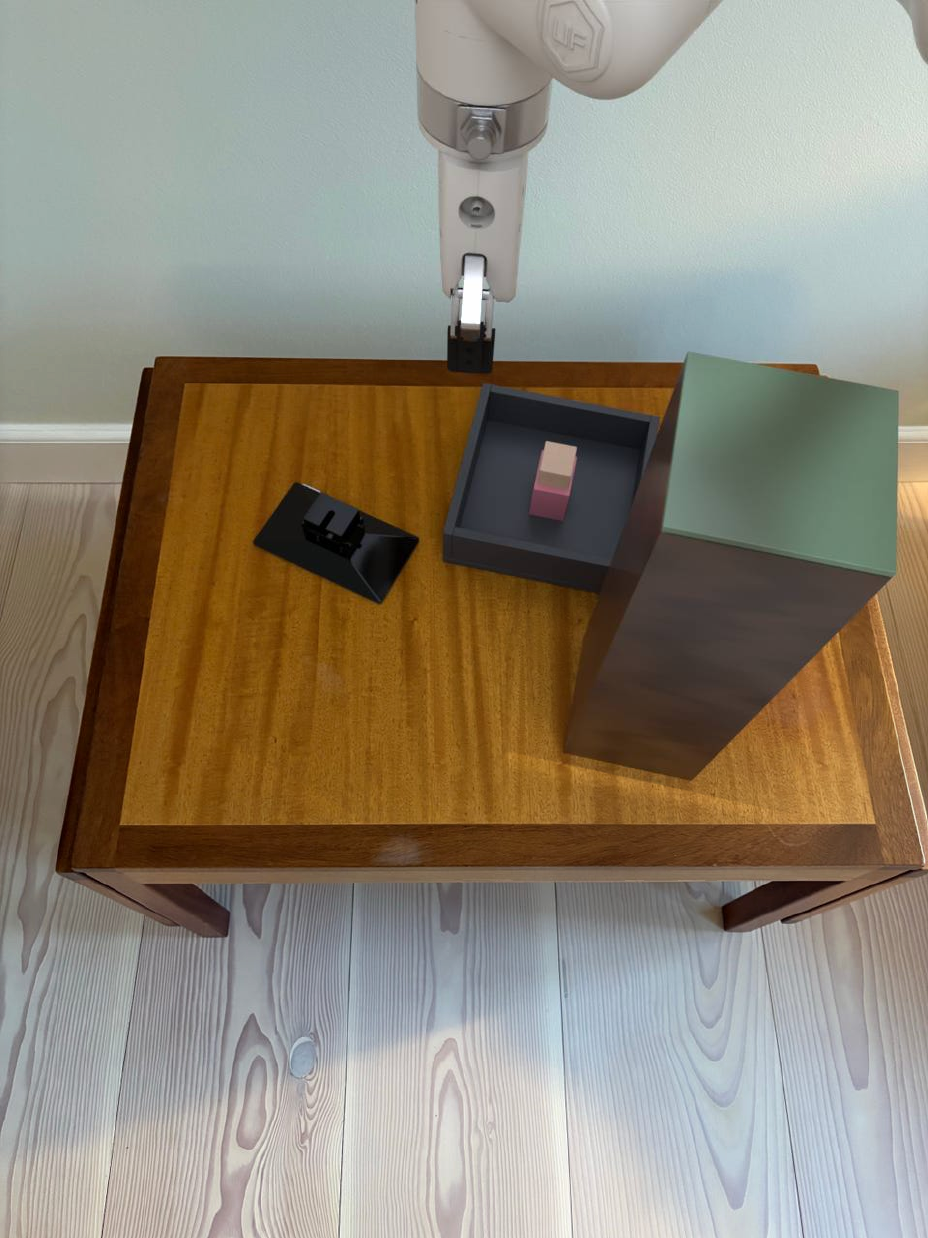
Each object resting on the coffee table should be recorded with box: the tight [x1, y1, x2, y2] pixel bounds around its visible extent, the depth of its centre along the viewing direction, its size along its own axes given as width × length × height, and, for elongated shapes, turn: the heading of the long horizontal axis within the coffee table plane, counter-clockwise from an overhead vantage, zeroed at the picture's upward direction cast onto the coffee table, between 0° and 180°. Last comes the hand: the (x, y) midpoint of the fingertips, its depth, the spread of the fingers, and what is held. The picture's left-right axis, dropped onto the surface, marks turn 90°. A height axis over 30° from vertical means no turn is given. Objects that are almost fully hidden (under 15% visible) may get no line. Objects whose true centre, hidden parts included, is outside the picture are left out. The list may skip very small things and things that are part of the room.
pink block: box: [529, 441, 577, 521], centre depth 75 cm, size 3×4×6 cm
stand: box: [562, 351, 900, 782], centre depth 55 cm, size 10×10×34 cm
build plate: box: [252, 481, 420, 605], centre depth 74 cm, size 12×7×5 cm, turn 63°
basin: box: [442, 382, 661, 595], centre depth 76 cm, size 16×16×5 cm
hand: (473, 317), depth 65 cm, fingers open, 9 cm apart
